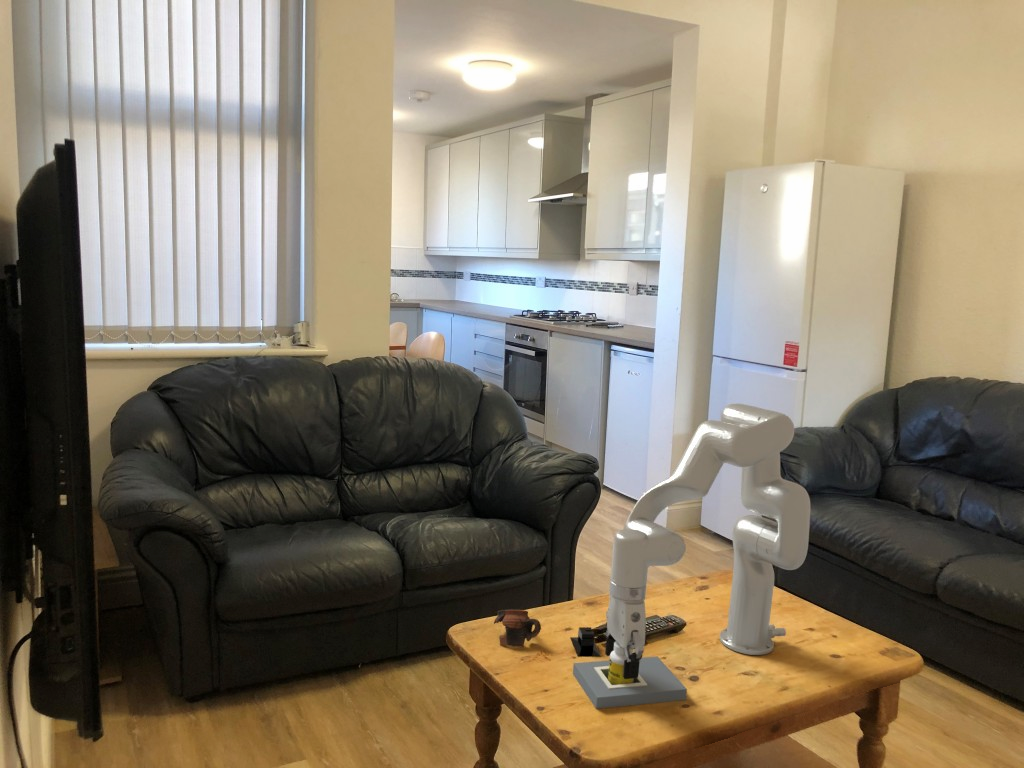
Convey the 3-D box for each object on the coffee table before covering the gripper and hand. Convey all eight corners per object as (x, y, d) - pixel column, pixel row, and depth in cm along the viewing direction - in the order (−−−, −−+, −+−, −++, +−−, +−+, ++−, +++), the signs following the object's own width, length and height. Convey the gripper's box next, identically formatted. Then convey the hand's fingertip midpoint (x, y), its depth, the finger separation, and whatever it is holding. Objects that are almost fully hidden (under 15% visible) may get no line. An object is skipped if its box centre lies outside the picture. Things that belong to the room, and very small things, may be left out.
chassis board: (656, 666, 180) (657, 655, 179) (685, 699, 166) (687, 688, 166) (572, 673, 174) (573, 662, 174) (596, 708, 161) (597, 696, 161)
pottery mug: (486, 646, 185) (487, 609, 188) (503, 648, 193) (504, 613, 196) (534, 645, 181) (534, 607, 184) (550, 647, 189) (549, 611, 192)
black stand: (605, 662, 181) (607, 643, 181) (574, 662, 180) (575, 643, 180) (594, 636, 193) (595, 618, 193) (564, 636, 193) (565, 618, 192)
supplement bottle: (602, 682, 171) (606, 639, 170) (624, 678, 173) (628, 636, 172) (615, 695, 166) (619, 651, 165) (637, 691, 168) (641, 648, 167)
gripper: (662, 606, 159) (655, 686, 162) (627, 572, 176) (621, 645, 178) (627, 608, 157) (620, 689, 160) (595, 574, 174) (590, 647, 176)
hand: (621, 666), depth 169 cm, fingers open, 9 cm apart
